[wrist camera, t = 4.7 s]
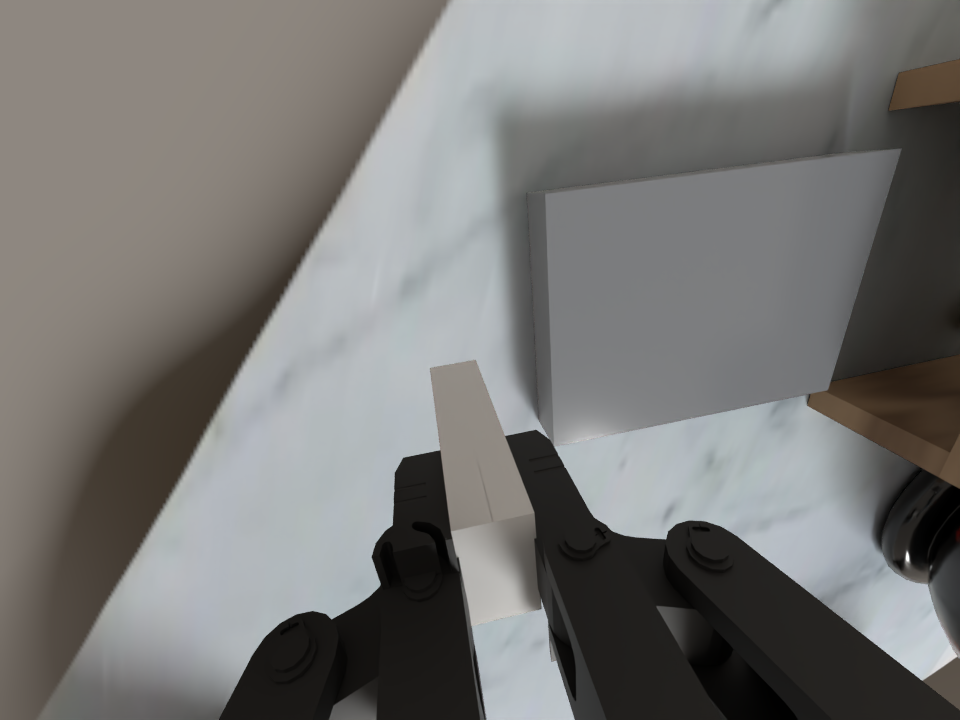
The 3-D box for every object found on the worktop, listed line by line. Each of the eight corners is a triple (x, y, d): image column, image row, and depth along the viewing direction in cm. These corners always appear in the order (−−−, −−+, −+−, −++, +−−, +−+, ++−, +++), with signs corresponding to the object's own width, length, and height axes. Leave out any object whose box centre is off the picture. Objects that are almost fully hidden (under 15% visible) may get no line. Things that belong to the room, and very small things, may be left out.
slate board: (536, 415, 23) (554, 446, 20) (523, 192, 18) (545, 193, 15) (781, 367, 25) (827, 390, 22) (833, 152, 20) (902, 148, 17)
